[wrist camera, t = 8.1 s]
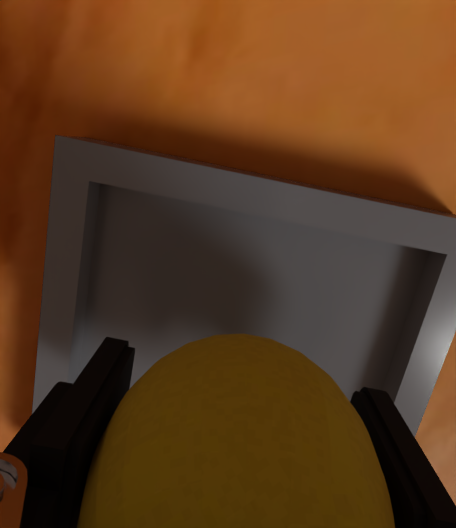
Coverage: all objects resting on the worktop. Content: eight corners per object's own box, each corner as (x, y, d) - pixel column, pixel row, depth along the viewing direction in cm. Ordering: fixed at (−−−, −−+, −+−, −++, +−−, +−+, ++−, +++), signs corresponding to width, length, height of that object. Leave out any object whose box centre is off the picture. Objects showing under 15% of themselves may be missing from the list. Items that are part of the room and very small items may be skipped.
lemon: (320, 463, 13) (450, 962, 5) (139, 450, 13) (-16, 925, 5) (347, 293, 11) (593, 628, 3) (140, 278, 11) (-80, 577, 3)
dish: (85, 137, 13) (55, 135, 11) (454, 214, 13) (495, 227, 11) (53, 452, 16) (24, 497, 14) (351, 507, 16) (367, 560, 14)
